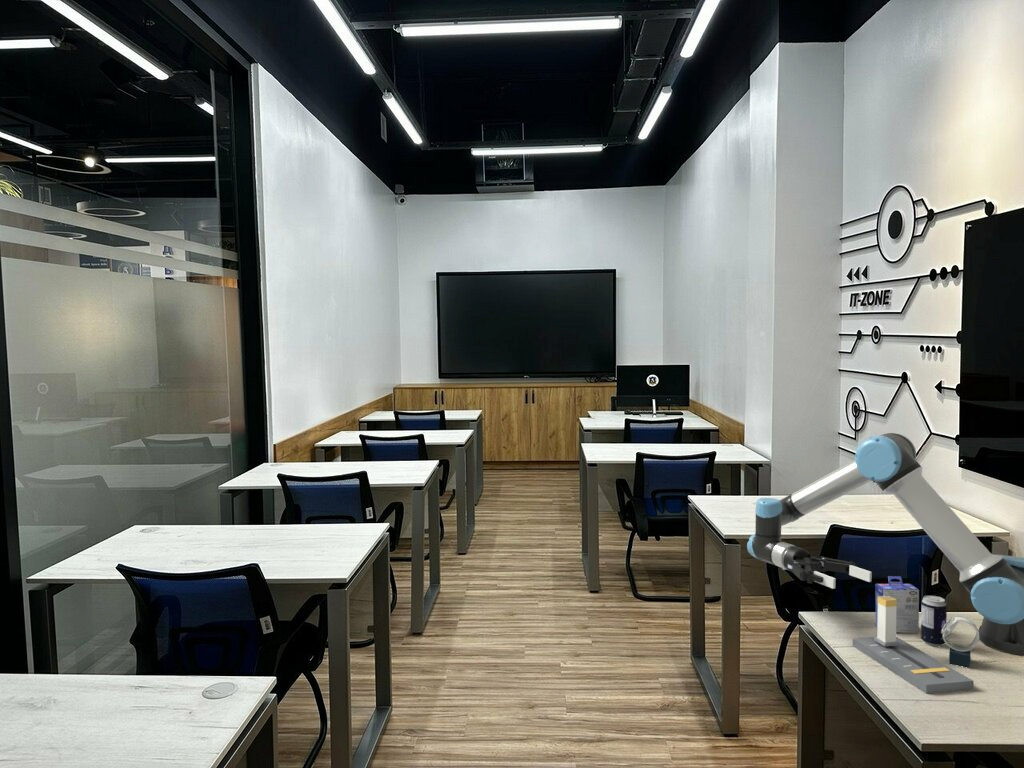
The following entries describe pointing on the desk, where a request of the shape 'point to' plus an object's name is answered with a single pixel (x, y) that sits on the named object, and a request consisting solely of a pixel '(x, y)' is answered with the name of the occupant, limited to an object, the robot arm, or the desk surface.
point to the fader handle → (886, 621)
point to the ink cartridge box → (901, 604)
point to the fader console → (914, 666)
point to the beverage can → (933, 620)
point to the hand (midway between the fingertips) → (852, 580)
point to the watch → (957, 653)
